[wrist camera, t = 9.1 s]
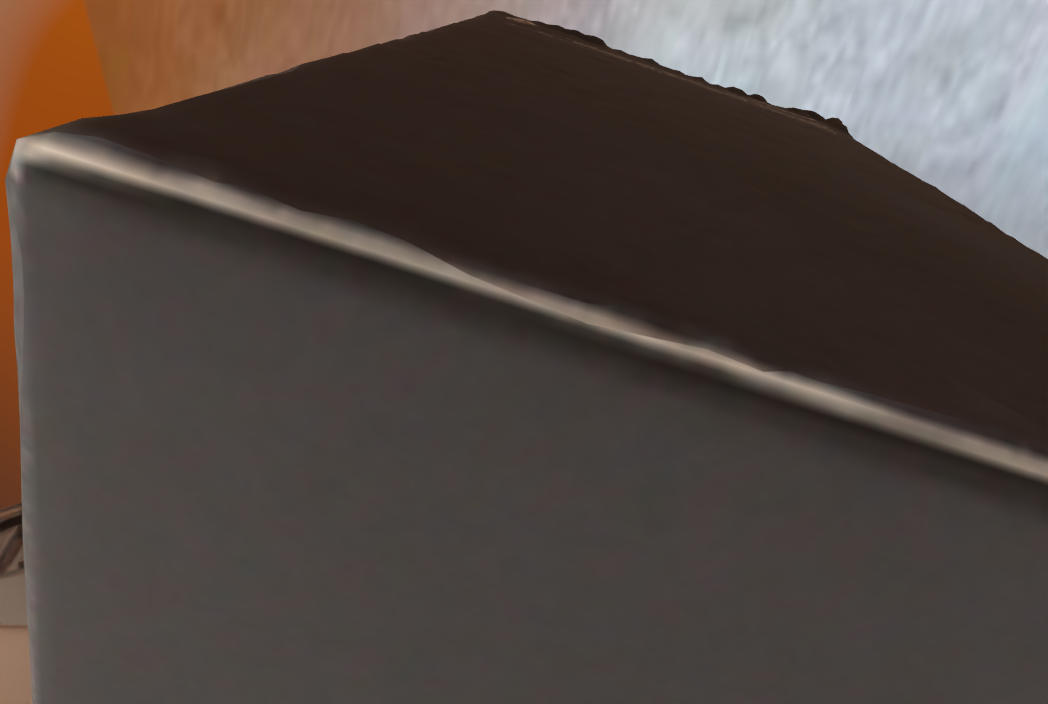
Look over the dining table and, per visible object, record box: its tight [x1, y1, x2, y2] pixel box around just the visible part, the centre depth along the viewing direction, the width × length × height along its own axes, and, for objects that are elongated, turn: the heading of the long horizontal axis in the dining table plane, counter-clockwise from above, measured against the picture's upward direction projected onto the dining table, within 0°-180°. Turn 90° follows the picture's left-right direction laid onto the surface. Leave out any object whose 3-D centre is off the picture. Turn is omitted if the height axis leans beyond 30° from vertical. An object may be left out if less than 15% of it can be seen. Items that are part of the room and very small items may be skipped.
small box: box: [5, 11, 1048, 704], centre depth 9 cm, size 11×6×10 cm, turn 163°
